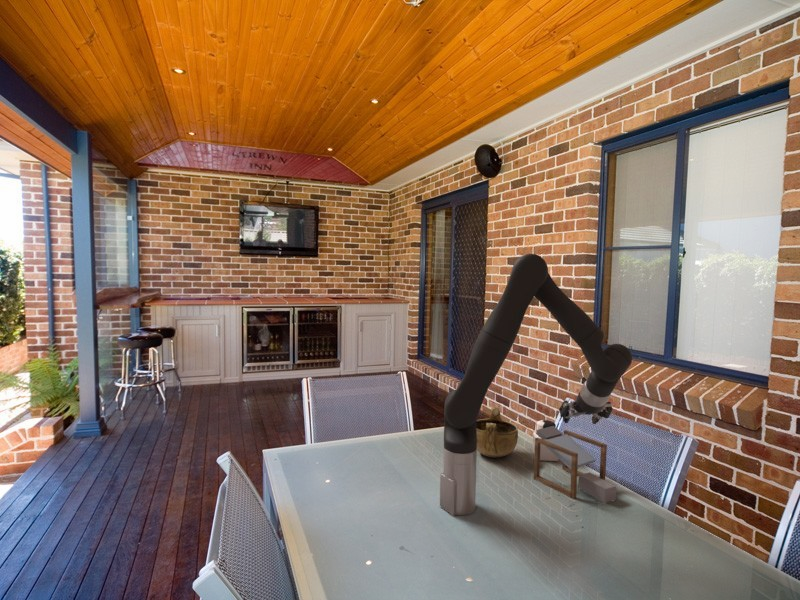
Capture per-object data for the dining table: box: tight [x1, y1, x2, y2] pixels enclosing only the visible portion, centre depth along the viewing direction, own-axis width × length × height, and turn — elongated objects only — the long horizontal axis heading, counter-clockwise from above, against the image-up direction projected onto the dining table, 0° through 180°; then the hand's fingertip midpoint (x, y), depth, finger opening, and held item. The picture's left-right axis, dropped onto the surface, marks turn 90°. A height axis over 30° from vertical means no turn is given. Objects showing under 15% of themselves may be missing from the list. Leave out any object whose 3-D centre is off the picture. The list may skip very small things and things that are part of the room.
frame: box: [533, 429, 608, 500], centre depth 144 cm, size 15×15×14 cm
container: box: [532, 419, 560, 462], centre depth 164 cm, size 8×8×13 cm
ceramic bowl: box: [477, 406, 519, 459], centre depth 166 cm, size 22×17×15 cm
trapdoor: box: [535, 426, 597, 469], centre depth 146 cm, size 12×16×2 cm
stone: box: [577, 471, 617, 504], centre depth 137 cm, size 4×4×10 cm
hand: (579, 420), depth 141 cm, fingers open, 8 cm apart
